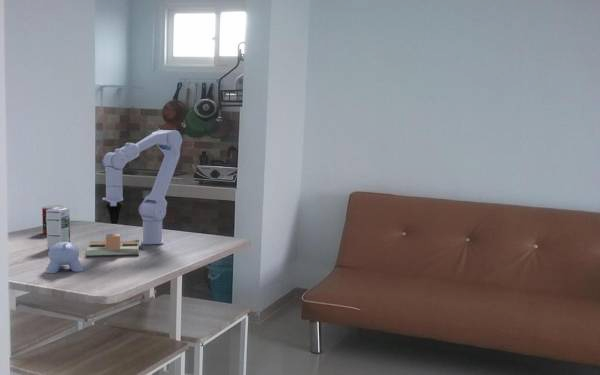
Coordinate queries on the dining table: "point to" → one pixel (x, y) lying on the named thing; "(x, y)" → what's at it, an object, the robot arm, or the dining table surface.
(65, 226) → the syrup box
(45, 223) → the canned food
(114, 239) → the terracotta cube
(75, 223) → the dining table surface
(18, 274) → the dining table surface
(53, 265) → the hippopotamus toy
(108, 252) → the board
